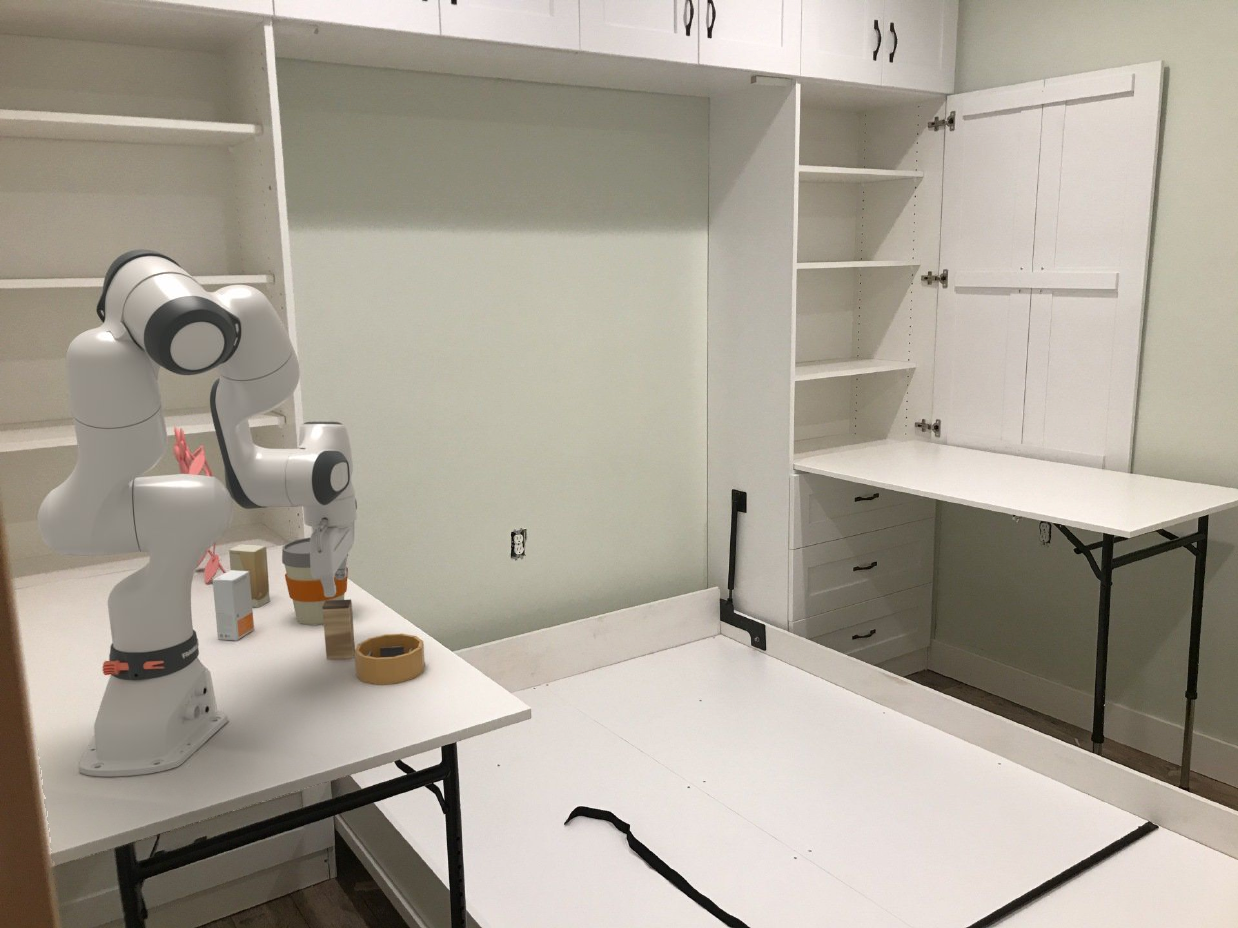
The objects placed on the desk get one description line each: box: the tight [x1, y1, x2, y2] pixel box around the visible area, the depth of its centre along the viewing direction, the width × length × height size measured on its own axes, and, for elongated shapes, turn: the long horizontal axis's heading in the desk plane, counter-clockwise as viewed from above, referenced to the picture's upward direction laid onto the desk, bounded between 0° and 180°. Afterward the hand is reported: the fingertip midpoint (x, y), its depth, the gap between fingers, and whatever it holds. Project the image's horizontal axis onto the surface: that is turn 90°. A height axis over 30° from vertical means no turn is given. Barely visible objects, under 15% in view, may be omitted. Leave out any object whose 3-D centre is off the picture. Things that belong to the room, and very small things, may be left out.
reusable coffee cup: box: [281, 536, 349, 626], centre depth 195 cm, size 13×13×15 cm
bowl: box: [354, 633, 426, 685], centre depth 169 cm, size 11×11×4 cm
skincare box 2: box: [212, 569, 255, 642], centre depth 187 cm, size 6×4×12 cm
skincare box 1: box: [228, 543, 271, 608], centre depth 204 cm, size 6×4×12 cm
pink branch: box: [173, 426, 227, 584], centre depth 219 cm, size 15×26×35 cm, turn 31°
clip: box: [368, 646, 412, 658], centre depth 169 cm, size 7×9×3 cm
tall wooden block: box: [322, 598, 356, 660], centre depth 176 cm, size 3×4×10 cm, turn 95°
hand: (335, 586), depth 174 cm, fingers open, 8 cm apart
